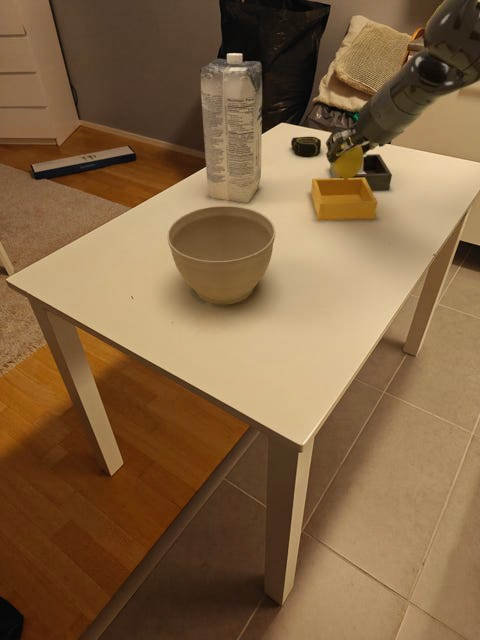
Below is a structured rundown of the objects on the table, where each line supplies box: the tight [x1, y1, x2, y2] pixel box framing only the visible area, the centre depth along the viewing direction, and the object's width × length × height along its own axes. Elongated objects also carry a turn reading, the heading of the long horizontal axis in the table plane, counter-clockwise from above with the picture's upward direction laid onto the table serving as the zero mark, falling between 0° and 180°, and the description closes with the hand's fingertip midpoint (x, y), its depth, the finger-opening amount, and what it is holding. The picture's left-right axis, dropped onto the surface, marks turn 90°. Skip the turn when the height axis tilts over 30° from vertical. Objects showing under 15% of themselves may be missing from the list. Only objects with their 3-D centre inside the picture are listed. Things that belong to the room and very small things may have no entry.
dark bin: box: [329, 153, 393, 192], centre depth 103 cm, size 11×11×4 cm
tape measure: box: [290, 136, 322, 157], centre depth 115 cm, size 7×7×4 cm
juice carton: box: [199, 52, 263, 204], centre depth 92 cm, size 9×10×27 cm
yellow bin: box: [310, 177, 378, 221], centre depth 94 cm, size 11×11×4 cm
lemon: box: [333, 139, 363, 180], centre depth 88 cm, size 6×6×8 cm
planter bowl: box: [166, 205, 276, 305], centre depth 72 cm, size 16×16×11 cm
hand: (343, 155), depth 89 cm, fingers closed on lemon, 5 cm apart
